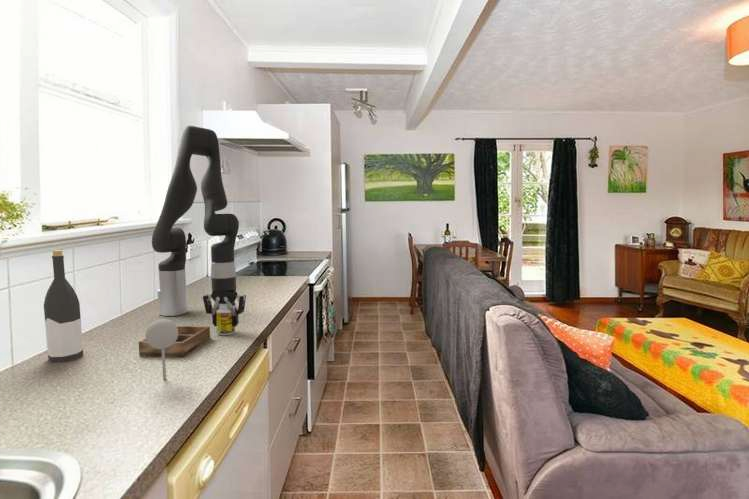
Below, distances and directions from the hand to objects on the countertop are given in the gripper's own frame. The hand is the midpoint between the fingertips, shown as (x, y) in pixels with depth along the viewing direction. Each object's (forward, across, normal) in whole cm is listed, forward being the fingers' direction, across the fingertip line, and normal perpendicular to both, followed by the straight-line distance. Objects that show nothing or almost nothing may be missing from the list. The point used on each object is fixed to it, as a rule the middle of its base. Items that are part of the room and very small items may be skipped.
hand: (225, 325), depth 141 cm
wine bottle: (+3, +35, +25) cm, 43 cm away
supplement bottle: (+3, 0, 0) cm, 3 cm away
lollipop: (+3, -1, +37) cm, 37 cm away
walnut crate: (+2, +9, +14) cm, 17 cm away
